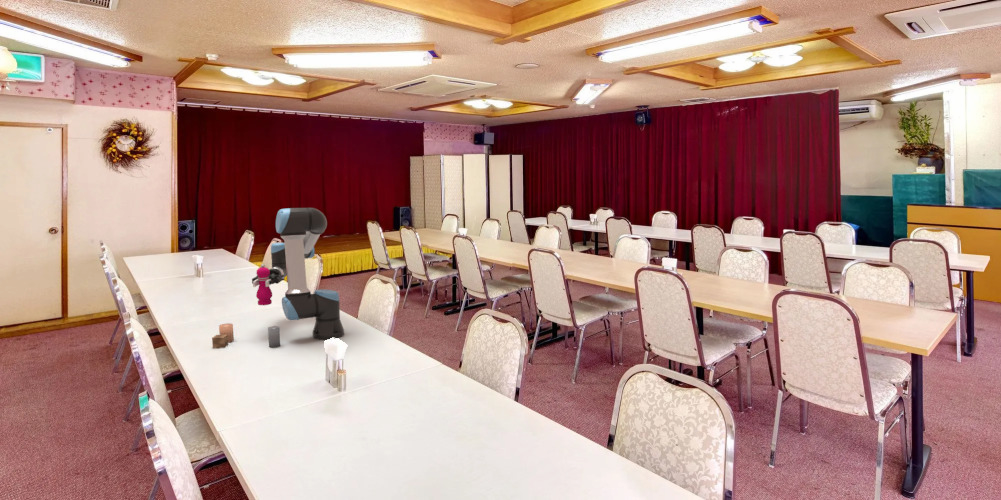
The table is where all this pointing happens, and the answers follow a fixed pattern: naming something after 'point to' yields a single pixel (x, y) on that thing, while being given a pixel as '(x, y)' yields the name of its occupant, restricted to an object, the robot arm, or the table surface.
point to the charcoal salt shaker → (274, 336)
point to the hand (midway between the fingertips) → (260, 284)
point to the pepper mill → (263, 286)
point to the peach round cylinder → (227, 331)
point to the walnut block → (220, 341)
